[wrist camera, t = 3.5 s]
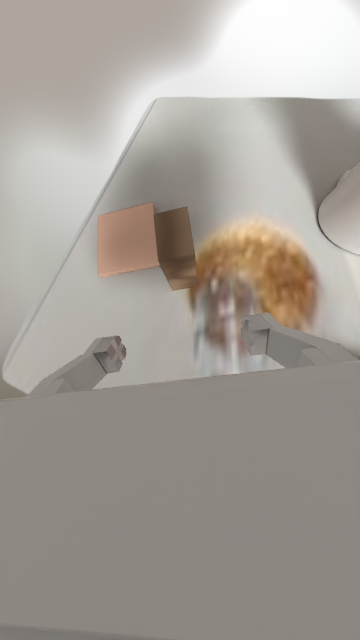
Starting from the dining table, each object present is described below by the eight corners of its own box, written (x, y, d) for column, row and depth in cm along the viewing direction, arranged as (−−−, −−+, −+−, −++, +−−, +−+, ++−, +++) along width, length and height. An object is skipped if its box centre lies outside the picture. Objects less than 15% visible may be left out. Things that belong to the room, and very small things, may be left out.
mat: (154, 206, 32) (152, 202, 31) (160, 265, 29) (158, 262, 28) (101, 219, 33) (98, 215, 32) (101, 277, 30) (98, 274, 29)
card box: (191, 251, 28) (186, 206, 20) (197, 286, 27) (194, 253, 18) (168, 256, 29) (153, 214, 20) (172, 290, 27) (158, 260, 18)
